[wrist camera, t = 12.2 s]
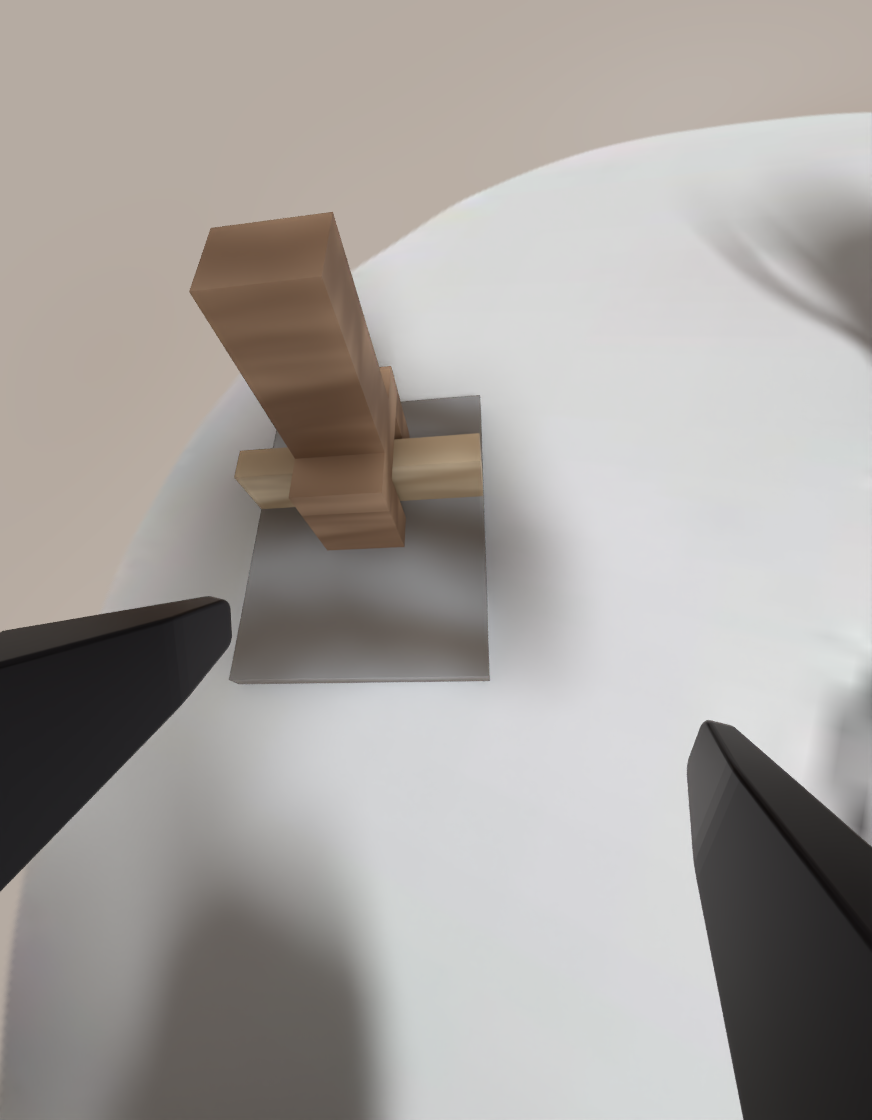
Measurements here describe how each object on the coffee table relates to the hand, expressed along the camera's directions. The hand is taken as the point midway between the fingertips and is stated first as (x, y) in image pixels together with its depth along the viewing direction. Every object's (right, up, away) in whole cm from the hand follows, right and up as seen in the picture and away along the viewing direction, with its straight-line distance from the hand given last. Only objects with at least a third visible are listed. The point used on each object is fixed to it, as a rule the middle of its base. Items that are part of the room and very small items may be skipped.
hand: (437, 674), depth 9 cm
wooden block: (-4, +6, +17) cm, 19 cm away
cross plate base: (-3, +4, +17) cm, 18 cm away
